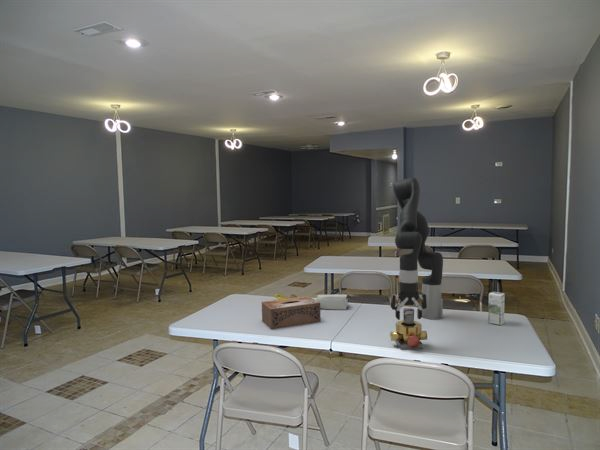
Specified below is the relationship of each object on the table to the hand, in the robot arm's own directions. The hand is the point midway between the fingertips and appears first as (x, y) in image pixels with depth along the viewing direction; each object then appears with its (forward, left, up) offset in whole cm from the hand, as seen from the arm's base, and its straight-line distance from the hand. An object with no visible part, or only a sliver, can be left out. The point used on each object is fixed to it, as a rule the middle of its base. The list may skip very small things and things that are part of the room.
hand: (408, 318), depth 169 cm
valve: (0, +1, -11) cm, 11 cm away
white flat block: (+28, -66, -12) cm, 73 cm away
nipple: (0, 0, -5) cm, 5 cm away
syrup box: (-49, -25, -11) cm, 56 cm away
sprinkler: (+53, -66, -12) cm, 86 cm away
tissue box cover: (+49, -36, -12) cm, 62 cm away
